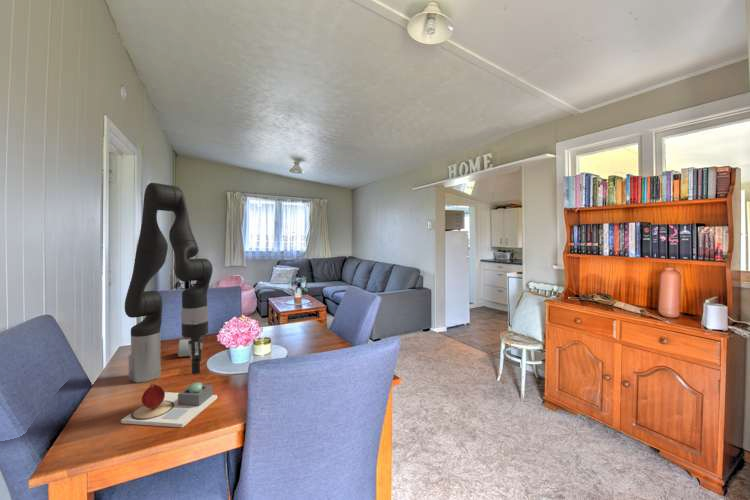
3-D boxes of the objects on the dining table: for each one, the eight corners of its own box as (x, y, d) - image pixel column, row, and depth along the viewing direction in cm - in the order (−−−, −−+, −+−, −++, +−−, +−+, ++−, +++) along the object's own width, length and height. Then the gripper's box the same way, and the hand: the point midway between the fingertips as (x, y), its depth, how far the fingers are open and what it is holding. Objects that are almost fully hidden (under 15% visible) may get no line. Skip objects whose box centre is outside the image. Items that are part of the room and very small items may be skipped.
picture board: (119, 423, 93) (119, 419, 93) (163, 394, 110) (163, 391, 110) (182, 427, 91) (182, 423, 91) (217, 398, 108) (217, 394, 108)
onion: (149, 404, 101) (149, 379, 101) (168, 403, 102) (168, 378, 102) (137, 414, 96) (137, 387, 95) (157, 413, 96) (157, 387, 96)
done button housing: (178, 405, 102) (177, 394, 101) (192, 394, 108) (192, 384, 108) (198, 406, 101) (198, 395, 101) (212, 395, 108) (212, 385, 108)
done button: (186, 396, 103) (186, 387, 103) (193, 390, 107) (193, 382, 107) (197, 396, 103) (197, 388, 102) (204, 391, 106) (204, 382, 106)
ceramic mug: (198, 357, 145) (198, 340, 145) (177, 359, 142) (177, 342, 142) (200, 350, 155) (200, 334, 155) (181, 352, 152) (180, 336, 152)
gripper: (180, 317, 107) (181, 369, 108) (182, 326, 96) (183, 383, 97) (206, 315, 111) (206, 364, 112) (210, 323, 100) (211, 378, 101)
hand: (195, 373), depth 104 cm, fingers closed
